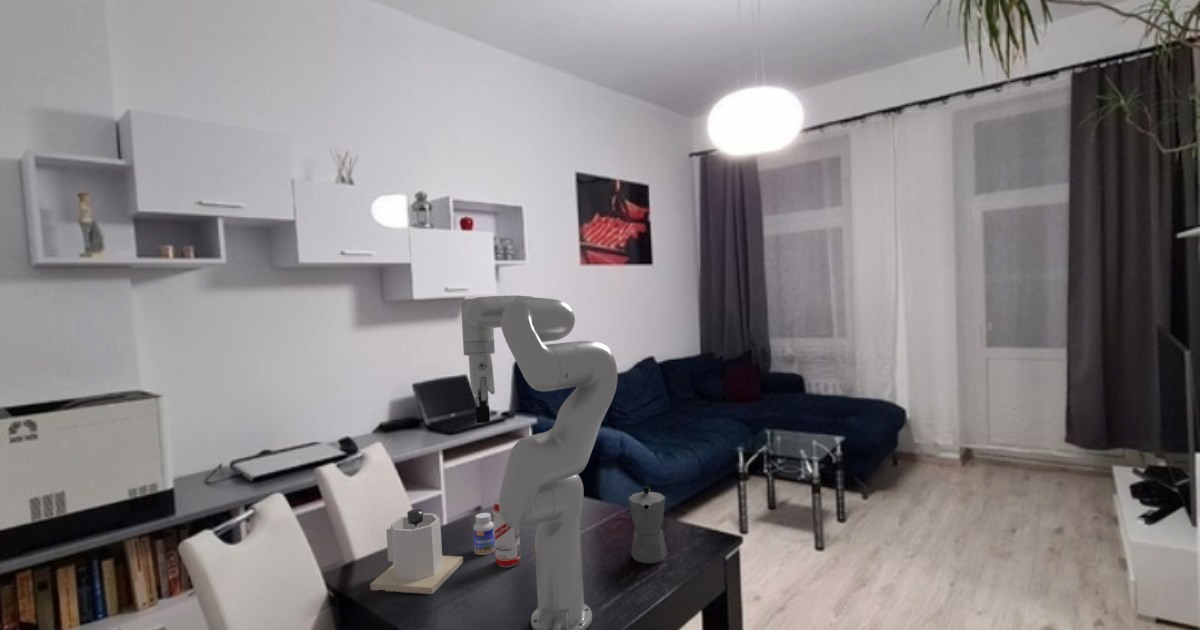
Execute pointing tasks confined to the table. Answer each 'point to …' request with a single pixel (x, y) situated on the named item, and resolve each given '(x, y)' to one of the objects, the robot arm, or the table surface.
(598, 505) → the table surface
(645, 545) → the coffeepot
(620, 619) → the table surface
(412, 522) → the plunger
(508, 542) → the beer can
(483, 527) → the pill bottle
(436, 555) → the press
